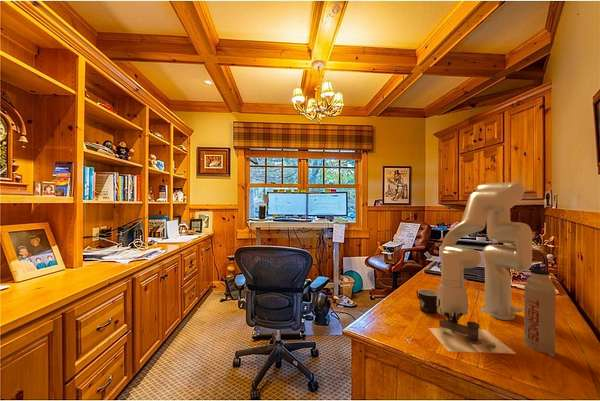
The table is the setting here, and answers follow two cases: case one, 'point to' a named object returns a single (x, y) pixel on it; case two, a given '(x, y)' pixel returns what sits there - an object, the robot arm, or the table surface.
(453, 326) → the grey door handle
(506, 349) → the beige flat slab
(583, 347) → the table surface
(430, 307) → the coffee mug
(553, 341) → the thermos bottle
